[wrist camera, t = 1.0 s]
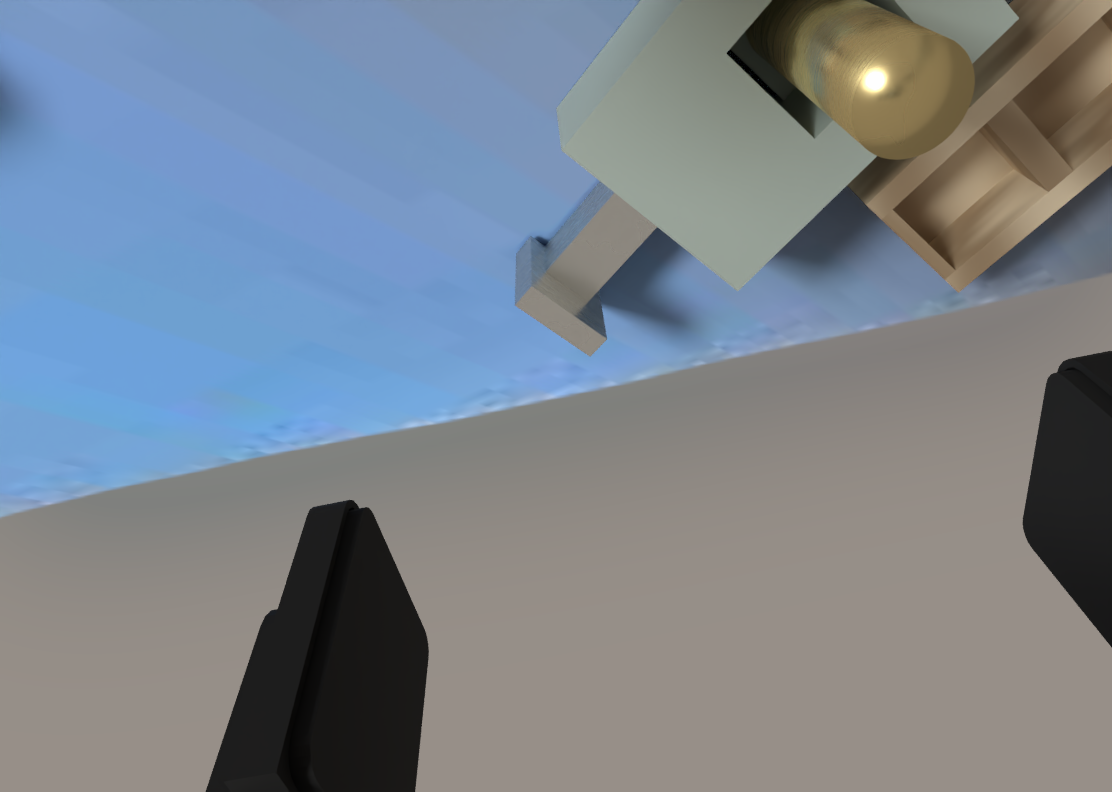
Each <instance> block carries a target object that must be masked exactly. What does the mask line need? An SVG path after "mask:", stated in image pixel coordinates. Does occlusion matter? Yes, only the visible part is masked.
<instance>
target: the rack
mask: <svg viewBox="0 0 1112 792" xmlns="http://www.w3.org/2000/svg"><path fill="white" fill-rule="evenodd" d="M1009 6H1010V7H1011V9H1012V10H1013V11H1014V12H1015V14H1016V15H1017V16H1018V17H1019V19H1018V20H1017V21H1016V22H1015V23H1014V24H1013V25H1012V26H1011V27H1010V28H1009V29H1008V30H1007V31H1006V32H1005V33H1004V34H1003V35H1002V36H1001V37H1000V38H999V39H998V40H997V41H996V42H994V43H993V44H992V45H991V46H990V47H989V48H988V49H987V50H986V51H985V52H984V53H983V54H982V55H981V56H980V57H979V58H978V59H977V60H976V61H975V62H974V63H973V64H972V65H973V68H974V75H975V85H974V93H973V97H972V101H971V103H970V106H969V108H968V111H967V113H966V114H965V116H964V118H963V120H962V121H961V123H960V124H959V125H958V127H957V128H956V129H955V131H954V132H953V133H952V134H951V135H950V136H949V137H948V138H947V139H946V140H944V141H943V142H942V143H941V144H939V145H938V146H936V147H935V148H933V149H932V150H930V151H928V152H926V153H924V154H921V155H919V156H916V157H913V158H908V159H900V160H893V159H886V158H881V157H879V156H877V157H876V158H875V159H874V160H873V161H872V162H871V163H870V164H869V165H868V166H867V167H865V168H864V169H863V170H862V171H861V172H860V173H859V174H858V175H857V176H856V177H855V178H854V179H853V180H852V181H851V182H850V183H849V184H848V185H847V186H848V187H849V188H850V189H851V190H852V191H853V192H854V193H855V194H856V195H857V196H858V197H859V198H860V199H861V200H862V201H863V202H864V203H865V204H866V205H867V206H868V207H869V208H870V209H871V210H872V211H873V212H874V213H875V214H876V215H877V216H878V217H879V218H880V219H881V220H882V221H883V222H884V223H885V224H887V225H888V226H889V227H890V228H891V229H892V230H893V231H894V232H895V233H896V234H897V235H898V236H899V237H900V238H901V239H902V240H903V241H904V242H906V243H907V244H908V245H909V246H910V247H911V248H912V249H913V250H914V251H915V252H916V253H917V254H918V255H919V256H920V257H921V258H922V259H923V260H924V261H926V262H927V263H928V264H929V265H930V266H931V267H932V268H933V269H934V270H935V271H936V272H937V273H938V274H939V275H940V276H941V277H942V278H943V279H945V280H946V281H947V282H948V283H949V284H950V285H951V286H952V287H953V288H954V289H955V290H956V291H957V292H958V293H959V292H960V291H961V290H962V289H963V288H965V287H966V286H967V285H968V284H969V283H971V282H972V281H973V280H974V279H975V278H977V277H978V276H979V275H980V274H981V273H983V272H984V271H985V270H986V269H988V268H989V267H990V266H991V265H992V264H994V263H995V262H996V261H997V260H998V259H1000V258H1001V257H1002V256H1003V255H1004V254H1006V253H1007V252H1008V251H1009V250H1010V249H1012V248H1013V247H1014V246H1015V245H1016V244H1018V243H1019V242H1020V241H1021V240H1023V239H1024V238H1025V237H1026V236H1027V235H1029V234H1030V233H1031V232H1032V231H1033V230H1035V229H1036V228H1037V227H1038V226H1039V225H1041V224H1042V223H1043V222H1044V221H1045V220H1047V219H1048V218H1049V217H1050V216H1051V215H1053V214H1054V213H1055V212H1056V211H1058V210H1059V209H1060V208H1061V207H1062V206H1064V205H1065V204H1066V203H1067V202H1068V201H1070V200H1071V199H1072V198H1073V197H1074V196H1076V195H1077V194H1078V193H1079V192H1080V191H1082V190H1083V189H1084V188H1085V187H1086V186H1088V185H1089V184H1090V183H1091V182H1092V181H1094V180H1095V179H1096V178H1097V177H1099V176H1100V175H1101V174H1102V173H1103V172H1105V171H1106V170H1107V169H1108V168H1109V167H1111V166H1112V0H1013V1H1012V2H1011V3H1010V4H1009Z"/></svg>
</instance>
